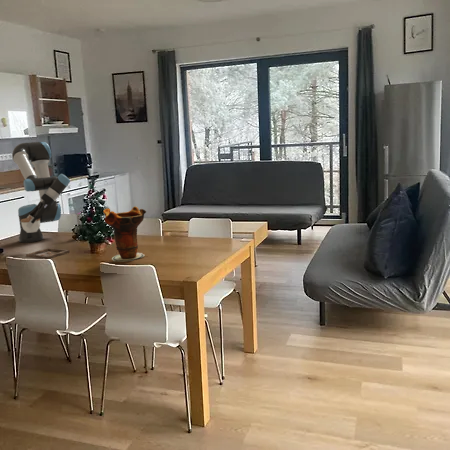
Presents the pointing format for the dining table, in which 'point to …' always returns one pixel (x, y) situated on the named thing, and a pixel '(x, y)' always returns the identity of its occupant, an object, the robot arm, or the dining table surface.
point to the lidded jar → (34, 226)
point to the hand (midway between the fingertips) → (26, 225)
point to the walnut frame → (47, 253)
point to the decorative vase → (125, 232)
